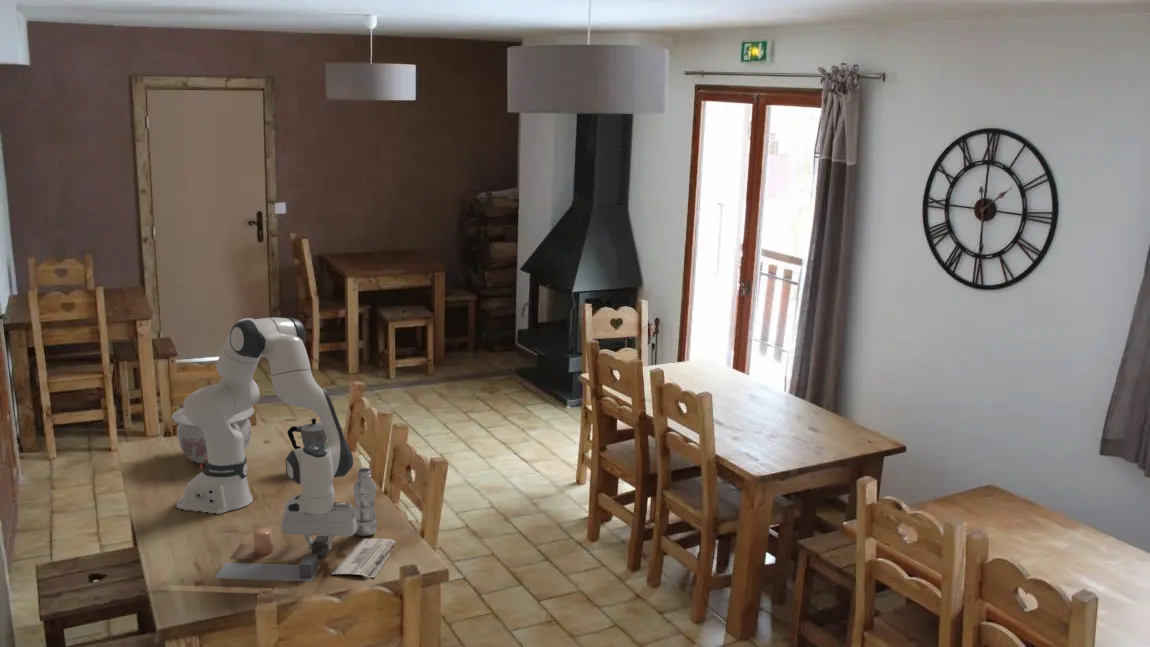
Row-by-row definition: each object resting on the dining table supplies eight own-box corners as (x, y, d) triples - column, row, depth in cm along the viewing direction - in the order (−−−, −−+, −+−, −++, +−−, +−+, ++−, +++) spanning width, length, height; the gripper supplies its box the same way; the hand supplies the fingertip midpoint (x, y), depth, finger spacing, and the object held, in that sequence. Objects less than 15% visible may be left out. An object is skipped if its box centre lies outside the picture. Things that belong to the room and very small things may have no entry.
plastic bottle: (355, 529, 303) (353, 466, 299) (378, 529, 304) (377, 466, 299) (352, 539, 297) (350, 474, 292) (376, 538, 298) (374, 474, 293)
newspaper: (373, 582, 273) (372, 574, 273) (331, 582, 276) (329, 573, 275) (402, 545, 295) (401, 537, 294) (363, 545, 297) (362, 537, 297)
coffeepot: (335, 462, 356) (333, 413, 352) (335, 472, 347) (333, 422, 343) (289, 465, 353) (287, 415, 348) (288, 475, 344) (286, 424, 340)
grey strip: (214, 582, 270) (212, 564, 269) (226, 566, 279) (225, 549, 278) (311, 585, 269) (310, 567, 268) (321, 569, 278) (320, 551, 277)
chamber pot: (186, 445, 370) (182, 390, 365) (264, 443, 373) (260, 389, 368) (164, 474, 343) (159, 415, 338) (248, 472, 346) (245, 414, 341)
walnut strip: (229, 562, 281) (228, 544, 280) (241, 547, 290) (240, 530, 289) (323, 565, 281) (322, 547, 279) (332, 550, 289) (331, 533, 288)
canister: (251, 555, 283) (250, 535, 281) (257, 547, 288) (256, 527, 286) (269, 556, 283) (268, 536, 281) (275, 548, 288) (274, 528, 286)
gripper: (358, 498, 284) (360, 544, 287) (285, 496, 285) (288, 542, 288) (353, 507, 278) (354, 554, 281) (278, 505, 278) (281, 552, 282)
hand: (320, 548), depth 284 cm, fingers closed on walnut strip, 3 cm apart
